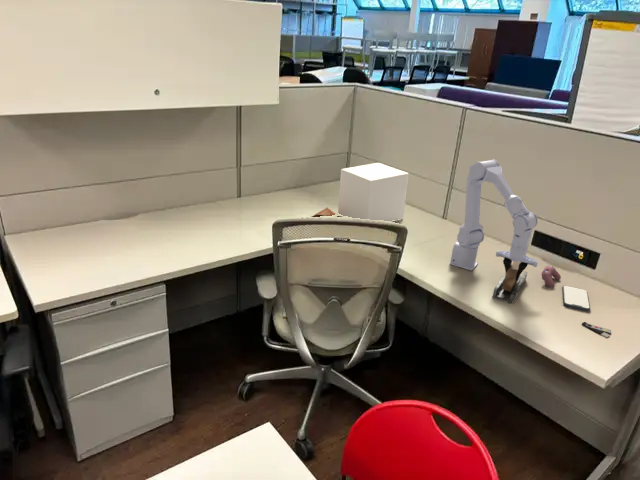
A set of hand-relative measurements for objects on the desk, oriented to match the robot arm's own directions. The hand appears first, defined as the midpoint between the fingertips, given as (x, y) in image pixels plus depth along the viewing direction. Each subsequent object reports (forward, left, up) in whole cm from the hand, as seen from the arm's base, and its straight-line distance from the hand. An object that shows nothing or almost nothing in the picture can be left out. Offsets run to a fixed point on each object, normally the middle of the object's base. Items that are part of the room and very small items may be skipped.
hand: (512, 278), depth 183 cm
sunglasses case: (-93, +14, -5) cm, 94 cm away
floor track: (0, 0, -4) cm, 4 cm away
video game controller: (+11, +16, -5) cm, 20 cm away
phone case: (+22, +7, -5) cm, 24 cm away
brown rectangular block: (0, 0, -3) cm, 3 cm away
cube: (-76, +31, -5) cm, 82 cm away
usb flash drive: (+31, -10, -5) cm, 33 cm away
